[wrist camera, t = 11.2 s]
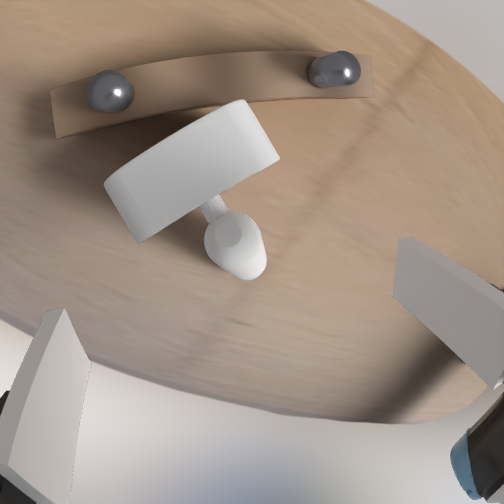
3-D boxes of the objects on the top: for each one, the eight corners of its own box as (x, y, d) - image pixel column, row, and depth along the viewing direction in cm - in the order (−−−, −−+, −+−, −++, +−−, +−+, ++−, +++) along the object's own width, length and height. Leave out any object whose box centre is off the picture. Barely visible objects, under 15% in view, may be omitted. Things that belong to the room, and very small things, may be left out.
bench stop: (341, 62, 20) (398, 50, 14) (345, 98, 22) (403, 97, 15) (69, 95, 17) (29, 85, 11) (75, 135, 18) (36, 142, 12)
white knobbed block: (210, 299, 25) (213, 364, 15) (140, 186, 23) (94, 185, 13) (298, 246, 25) (351, 281, 15) (232, 131, 23) (248, 92, 13)
